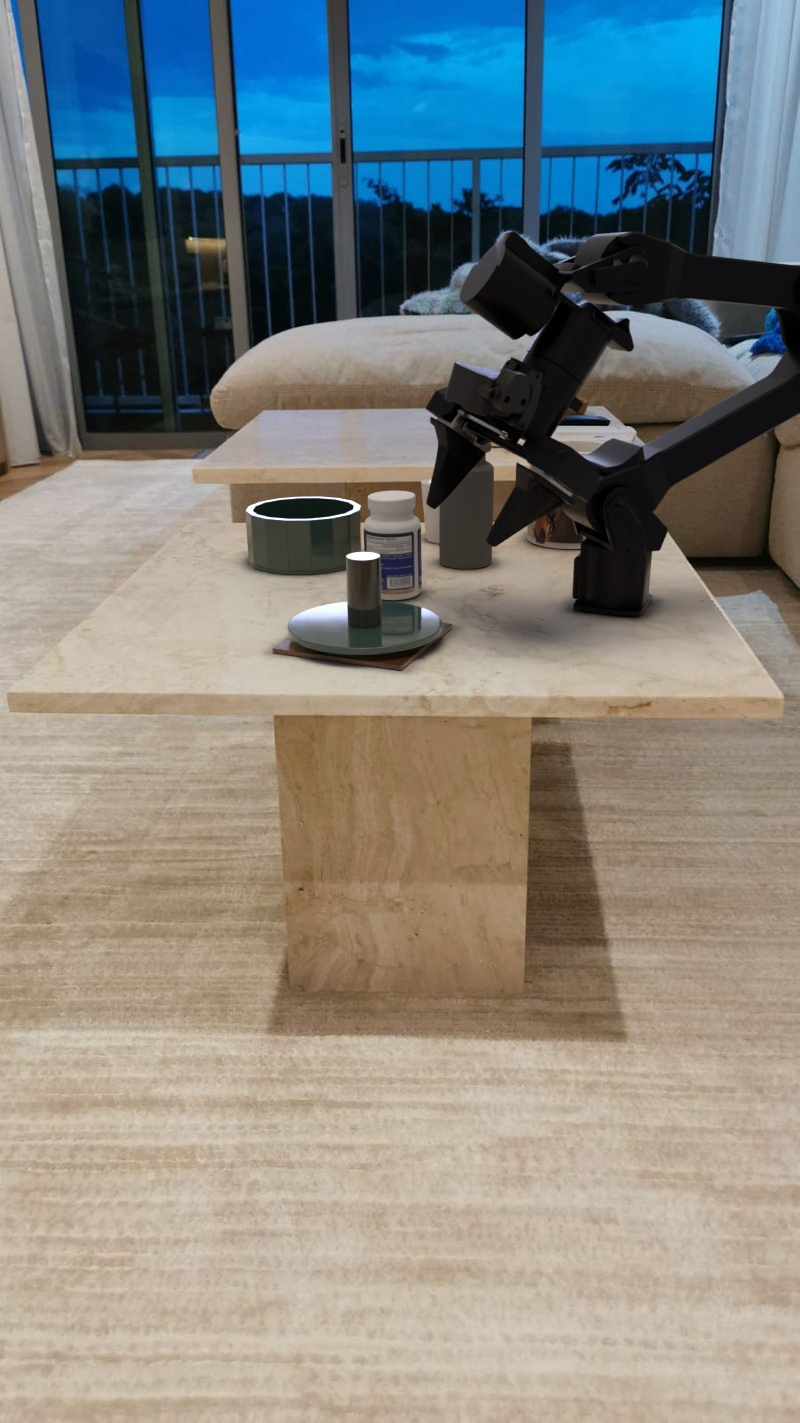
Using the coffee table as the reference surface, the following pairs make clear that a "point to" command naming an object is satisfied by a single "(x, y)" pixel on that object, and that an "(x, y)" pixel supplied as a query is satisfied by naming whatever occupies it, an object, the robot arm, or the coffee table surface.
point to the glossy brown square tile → (377, 660)
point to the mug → (559, 514)
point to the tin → (303, 534)
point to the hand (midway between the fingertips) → (459, 525)
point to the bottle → (468, 519)
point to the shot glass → (430, 514)
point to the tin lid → (364, 617)
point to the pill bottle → (395, 542)
